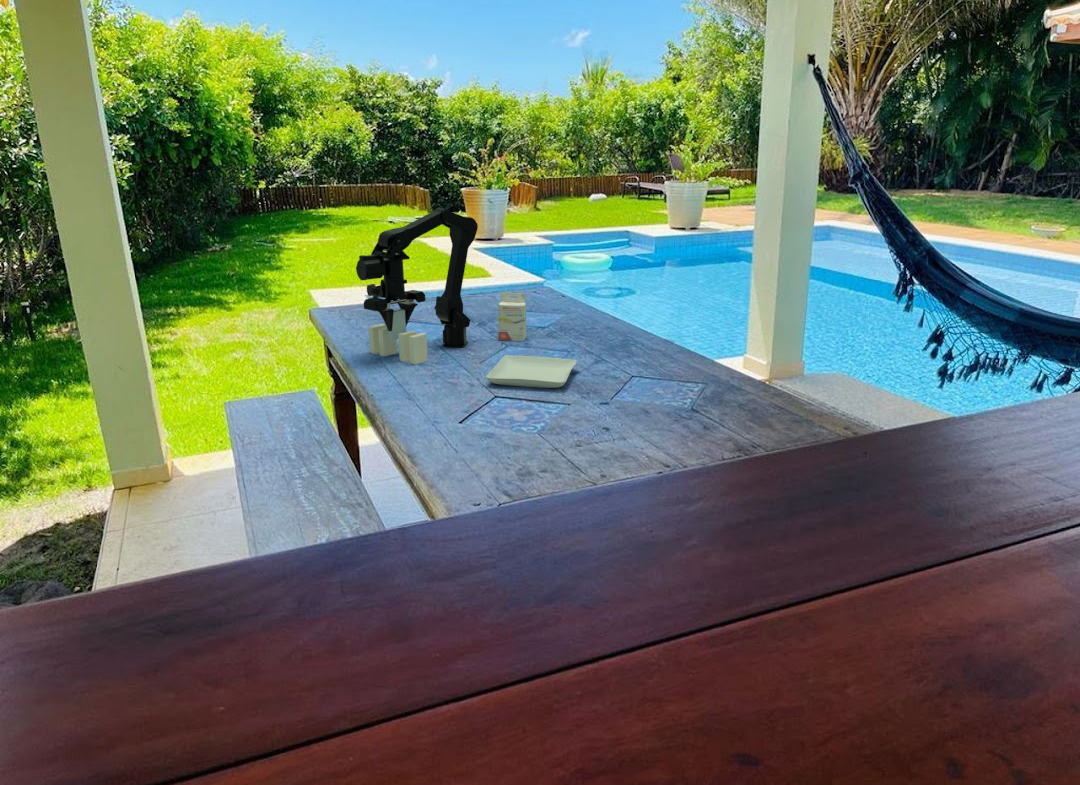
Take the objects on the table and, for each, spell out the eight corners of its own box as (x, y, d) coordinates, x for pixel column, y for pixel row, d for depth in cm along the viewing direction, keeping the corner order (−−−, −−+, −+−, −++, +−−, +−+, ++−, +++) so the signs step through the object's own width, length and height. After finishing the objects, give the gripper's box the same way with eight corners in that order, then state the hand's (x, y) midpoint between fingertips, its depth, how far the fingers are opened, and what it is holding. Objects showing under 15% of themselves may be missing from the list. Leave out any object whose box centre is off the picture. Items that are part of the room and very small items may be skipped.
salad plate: (565, 393, 195) (565, 381, 194) (484, 388, 200) (484, 376, 198) (578, 370, 215) (578, 358, 214) (504, 366, 219) (504, 354, 218)
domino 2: (379, 355, 229) (378, 329, 226) (393, 351, 232) (391, 326, 230) (384, 356, 228) (382, 330, 225) (397, 353, 231) (395, 327, 229)
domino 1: (370, 352, 232) (368, 326, 229) (383, 349, 235) (381, 323, 233) (374, 353, 230) (372, 327, 228) (387, 350, 234) (385, 324, 231)
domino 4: (399, 360, 223) (398, 333, 221) (412, 357, 227) (411, 330, 224) (404, 361, 222) (402, 335, 220) (417, 358, 226) (416, 331, 223)
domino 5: (410, 363, 221) (408, 336, 218) (423, 359, 224) (421, 333, 222) (414, 364, 219) (413, 337, 217) (427, 360, 223) (426, 334, 220)
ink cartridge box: (498, 340, 245) (497, 295, 240) (500, 337, 250) (499, 292, 245) (524, 341, 244) (524, 295, 239) (526, 337, 249) (526, 292, 244)
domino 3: (388, 338, 224) (387, 312, 222) (402, 335, 228) (400, 309, 225) (393, 339, 223) (391, 312, 220) (406, 336, 227) (404, 310, 224)
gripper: (400, 269, 231) (403, 319, 236) (349, 277, 218) (354, 331, 223) (425, 273, 225) (428, 325, 230) (374, 282, 211) (378, 337, 216)
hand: (397, 329), depth 225 cm, fingers closed on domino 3, 5 cm apart
